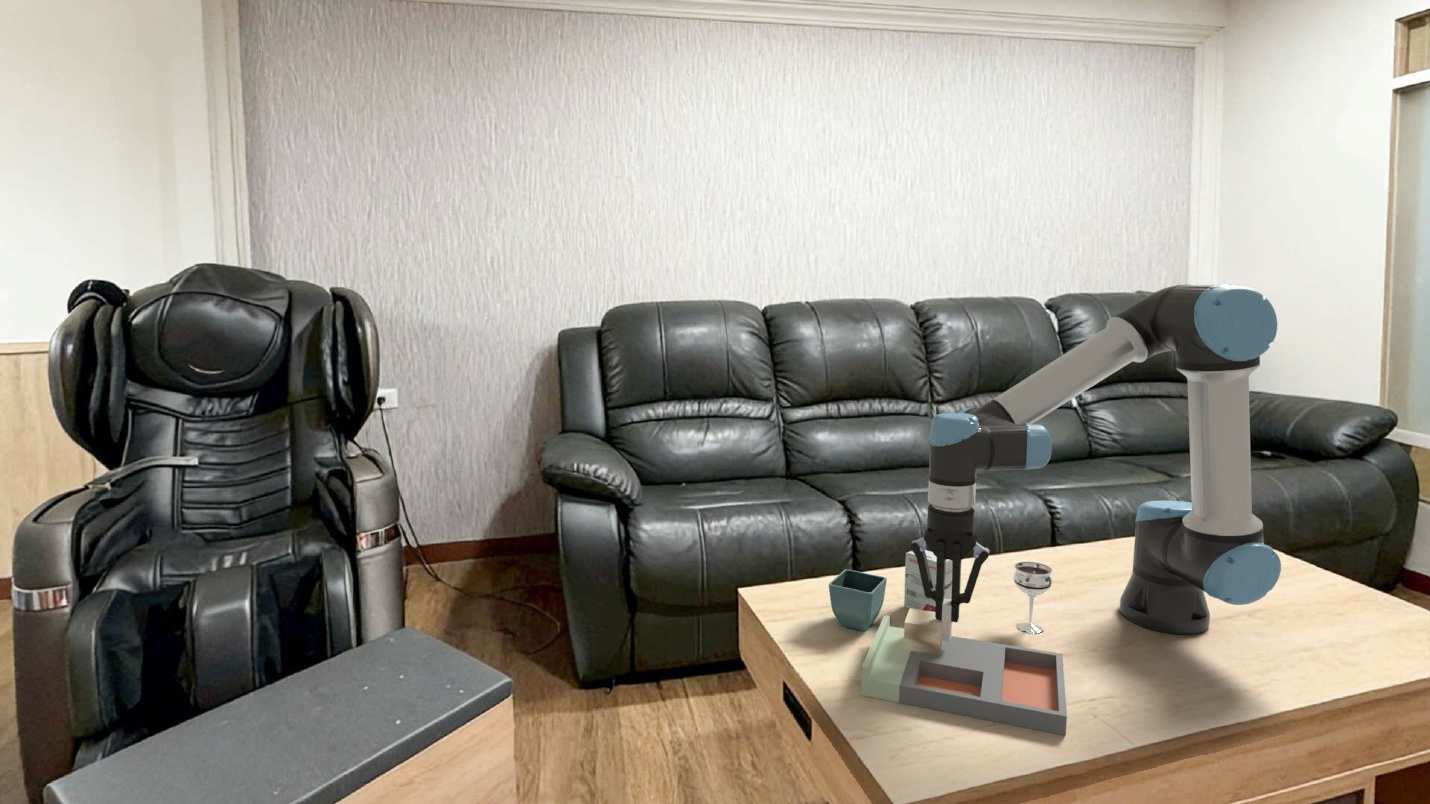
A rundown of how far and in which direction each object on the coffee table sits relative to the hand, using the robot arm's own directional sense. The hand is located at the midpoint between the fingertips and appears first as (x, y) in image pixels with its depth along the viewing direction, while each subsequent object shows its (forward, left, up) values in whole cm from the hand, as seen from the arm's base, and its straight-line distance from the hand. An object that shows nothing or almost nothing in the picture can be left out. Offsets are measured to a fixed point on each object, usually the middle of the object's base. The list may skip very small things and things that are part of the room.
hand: (946, 637), depth 130 cm
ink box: (+5, -21, -5) cm, 22 cm away
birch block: (+4, 0, -2) cm, 4 cm away
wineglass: (-14, -20, -5) cm, 25 cm away
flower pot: (+17, -10, -5) cm, 21 cm away
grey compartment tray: (-4, +5, -5) cm, 8 cm away
